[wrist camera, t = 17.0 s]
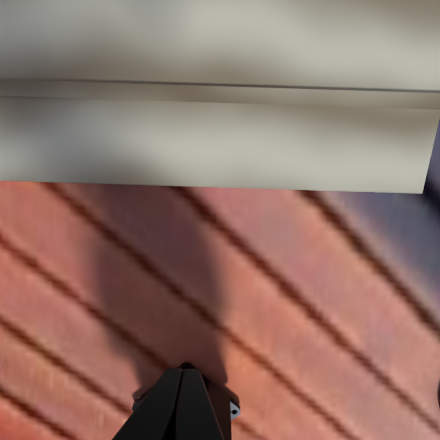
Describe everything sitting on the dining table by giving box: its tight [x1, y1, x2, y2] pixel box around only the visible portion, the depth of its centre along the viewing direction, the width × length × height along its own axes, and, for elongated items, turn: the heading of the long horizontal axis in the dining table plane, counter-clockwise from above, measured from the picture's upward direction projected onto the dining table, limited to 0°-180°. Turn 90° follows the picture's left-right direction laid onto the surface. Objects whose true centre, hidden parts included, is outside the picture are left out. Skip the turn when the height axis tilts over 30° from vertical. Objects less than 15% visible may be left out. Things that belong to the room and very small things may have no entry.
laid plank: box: [0, 0, 440, 193], centre depth 17 cm, size 10×28×2 cm, turn 88°
